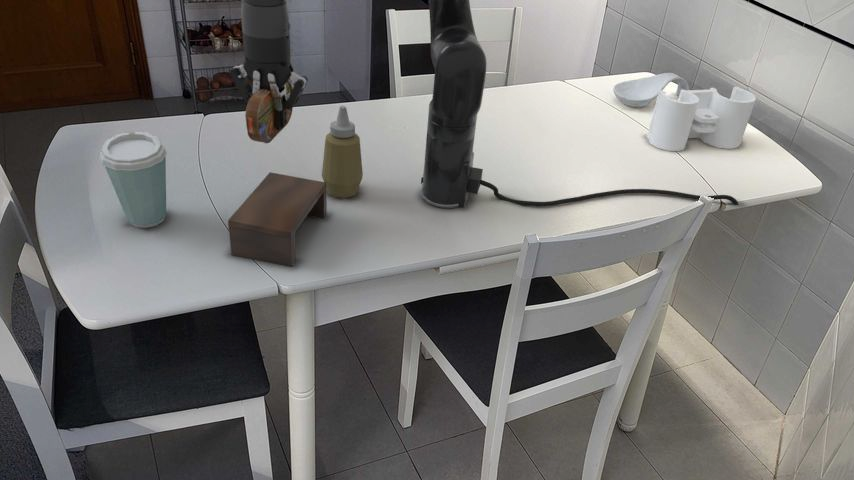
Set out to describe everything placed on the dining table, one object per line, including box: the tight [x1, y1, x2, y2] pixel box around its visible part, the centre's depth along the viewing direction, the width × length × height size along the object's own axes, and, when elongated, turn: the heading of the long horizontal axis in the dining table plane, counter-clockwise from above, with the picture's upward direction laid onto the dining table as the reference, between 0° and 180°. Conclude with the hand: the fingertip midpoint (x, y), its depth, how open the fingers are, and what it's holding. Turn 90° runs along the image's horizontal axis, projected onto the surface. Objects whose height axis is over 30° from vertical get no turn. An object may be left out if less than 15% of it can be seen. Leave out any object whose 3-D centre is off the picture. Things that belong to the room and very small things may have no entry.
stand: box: [227, 171, 328, 268], centre depth 132 cm, size 11×18×7 cm, turn 169°
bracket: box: [646, 86, 757, 152], centre depth 181 cm, size 25×10×12 cm, turn 108°
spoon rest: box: [612, 72, 690, 109], centre depth 201 cm, size 24×12×7 cm, turn 117°
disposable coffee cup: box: [98, 131, 168, 229], centre depth 129 cm, size 11×11×15 cm
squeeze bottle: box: [321, 105, 364, 199], centre depth 143 cm, size 8×8×18 cm
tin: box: [244, 80, 294, 144], centre depth 129 cm, size 15×3×8 cm, turn 168°
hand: (271, 126), depth 131 cm, fingers closed on tin, 2 cm apart
